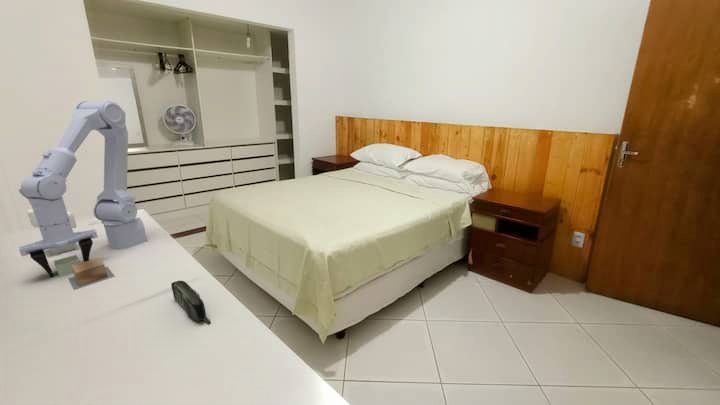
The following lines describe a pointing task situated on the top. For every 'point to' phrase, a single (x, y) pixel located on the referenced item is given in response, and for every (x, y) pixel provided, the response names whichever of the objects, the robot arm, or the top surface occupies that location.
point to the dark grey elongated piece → (189, 301)
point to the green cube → (66, 265)
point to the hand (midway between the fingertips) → (69, 270)
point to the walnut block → (89, 271)
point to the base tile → (76, 285)
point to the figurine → (60, 248)
